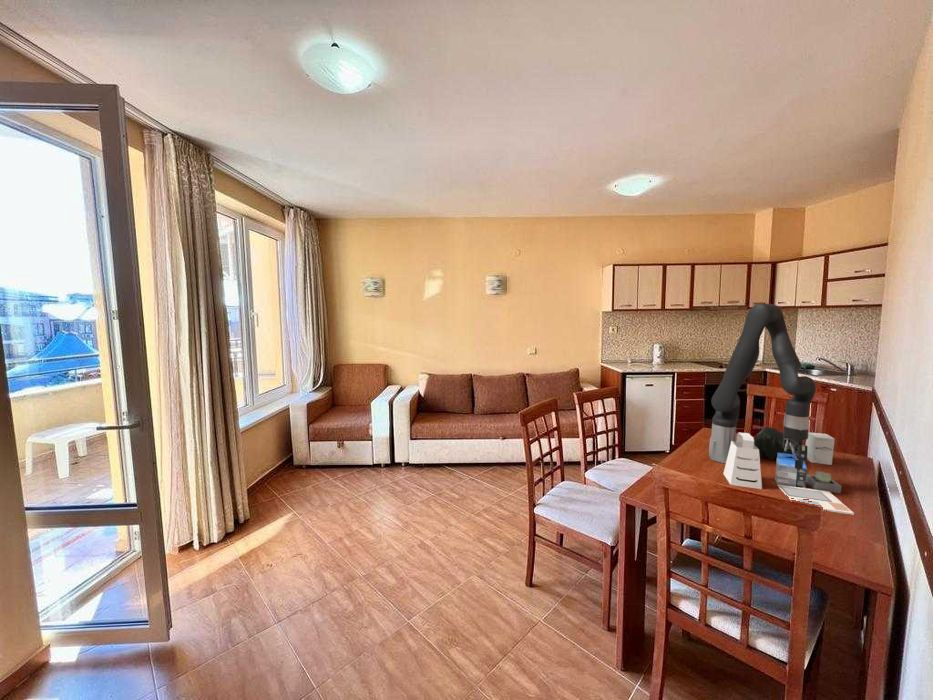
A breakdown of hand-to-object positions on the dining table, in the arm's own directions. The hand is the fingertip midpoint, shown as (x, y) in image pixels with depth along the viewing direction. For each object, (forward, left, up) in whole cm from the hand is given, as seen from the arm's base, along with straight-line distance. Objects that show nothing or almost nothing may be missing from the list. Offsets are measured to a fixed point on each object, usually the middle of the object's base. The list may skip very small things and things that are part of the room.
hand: (793, 464), depth 146 cm
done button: (+10, +2, -7) cm, 13 cm away
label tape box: (-1, 0, -9) cm, 9 cm away
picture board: (+2, -11, -9) cm, 14 cm away
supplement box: (+21, +32, -9) cm, 40 cm away
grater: (-18, -3, -9) cm, 20 cm away
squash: (+3, +31, -9) cm, 32 cm away
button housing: (+10, +2, -9) cm, 14 cm away
